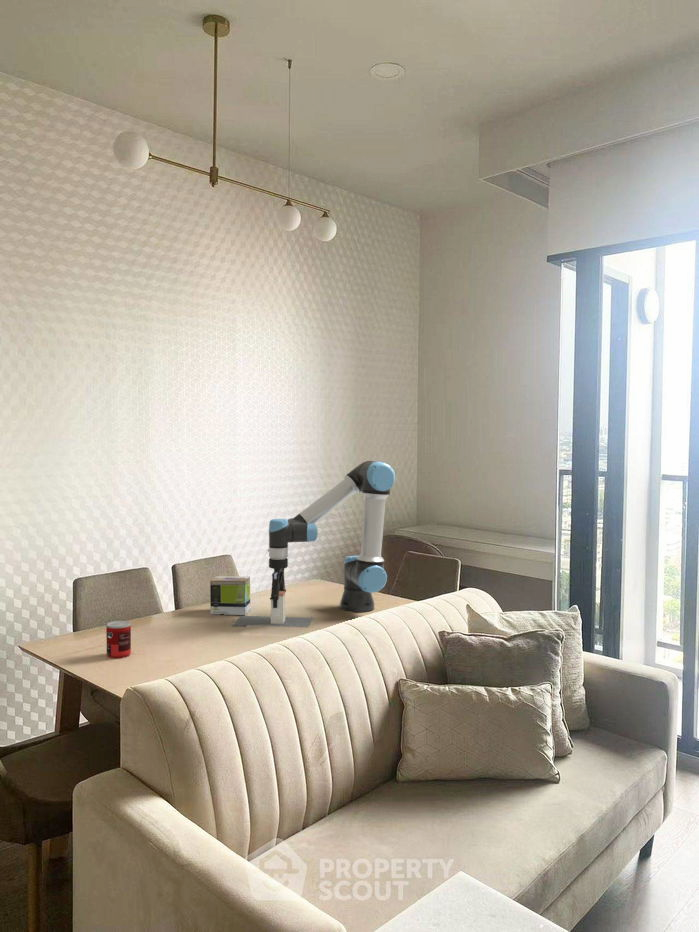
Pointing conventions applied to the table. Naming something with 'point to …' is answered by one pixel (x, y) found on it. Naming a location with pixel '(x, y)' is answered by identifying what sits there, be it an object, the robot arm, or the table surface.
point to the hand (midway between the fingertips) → (278, 611)
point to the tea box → (230, 595)
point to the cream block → (281, 617)
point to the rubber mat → (267, 621)
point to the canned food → (118, 639)
